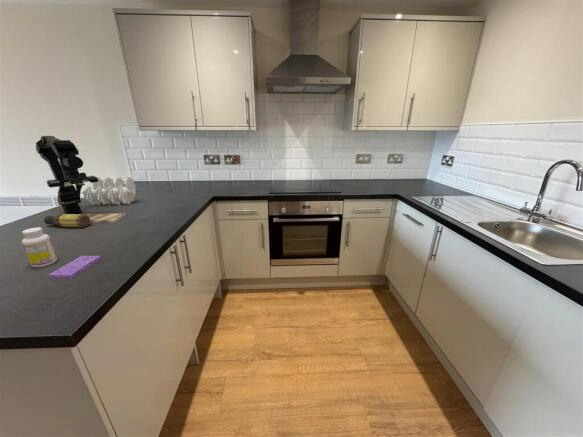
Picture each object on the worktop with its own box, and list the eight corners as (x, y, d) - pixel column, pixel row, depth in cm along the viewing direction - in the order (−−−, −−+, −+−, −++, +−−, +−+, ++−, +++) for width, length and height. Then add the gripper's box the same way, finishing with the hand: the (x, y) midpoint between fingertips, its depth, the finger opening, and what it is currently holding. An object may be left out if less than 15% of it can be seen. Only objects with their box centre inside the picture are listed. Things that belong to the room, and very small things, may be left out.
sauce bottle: (91, 214, 119) (55, 212, 121) (79, 214, 113) (41, 212, 115) (90, 228, 119) (54, 225, 121) (78, 228, 113) (40, 225, 115)
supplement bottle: (43, 258, 88) (30, 226, 84) (62, 258, 89) (51, 225, 84) (25, 268, 82) (11, 233, 77) (46, 267, 82) (33, 233, 78)
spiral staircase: (100, 208, 158) (141, 205, 162) (80, 204, 141) (126, 201, 144) (99, 181, 160) (139, 179, 163) (79, 174, 143) (125, 171, 146)
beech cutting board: (72, 223, 122) (71, 220, 122) (87, 216, 133) (87, 213, 132) (113, 222, 124) (113, 220, 124) (125, 215, 134) (125, 213, 134)
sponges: (101, 260, 89) (100, 255, 88) (71, 279, 77) (69, 274, 76) (82, 259, 89) (81, 255, 88) (50, 279, 77) (48, 274, 76)
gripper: (45, 170, 106) (57, 204, 111) (97, 166, 120) (105, 197, 125) (41, 168, 113) (52, 200, 118) (91, 164, 126) (98, 193, 131)
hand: (78, 197), depth 123 cm, fingers closed
